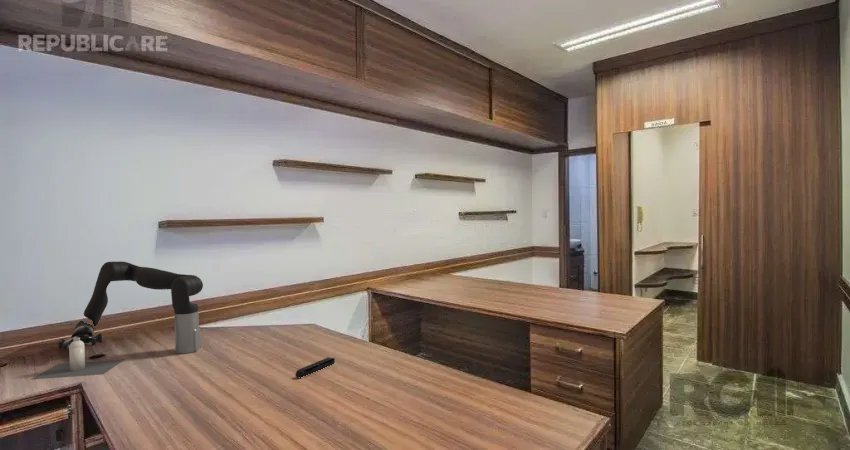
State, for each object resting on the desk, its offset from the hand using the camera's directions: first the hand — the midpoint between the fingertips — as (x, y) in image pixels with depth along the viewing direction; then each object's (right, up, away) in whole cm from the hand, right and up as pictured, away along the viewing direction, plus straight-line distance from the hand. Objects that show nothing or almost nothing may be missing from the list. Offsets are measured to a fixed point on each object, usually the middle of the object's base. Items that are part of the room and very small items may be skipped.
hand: (79, 345), depth 170 cm
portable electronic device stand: (+101, -7, -10) cm, 101 cm away
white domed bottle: (+7, -7, -9) cm, 13 cm away
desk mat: (+8, -7, -9) cm, 13 cm away
